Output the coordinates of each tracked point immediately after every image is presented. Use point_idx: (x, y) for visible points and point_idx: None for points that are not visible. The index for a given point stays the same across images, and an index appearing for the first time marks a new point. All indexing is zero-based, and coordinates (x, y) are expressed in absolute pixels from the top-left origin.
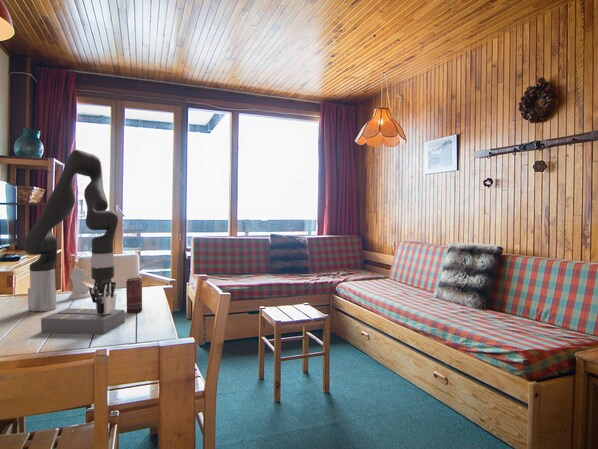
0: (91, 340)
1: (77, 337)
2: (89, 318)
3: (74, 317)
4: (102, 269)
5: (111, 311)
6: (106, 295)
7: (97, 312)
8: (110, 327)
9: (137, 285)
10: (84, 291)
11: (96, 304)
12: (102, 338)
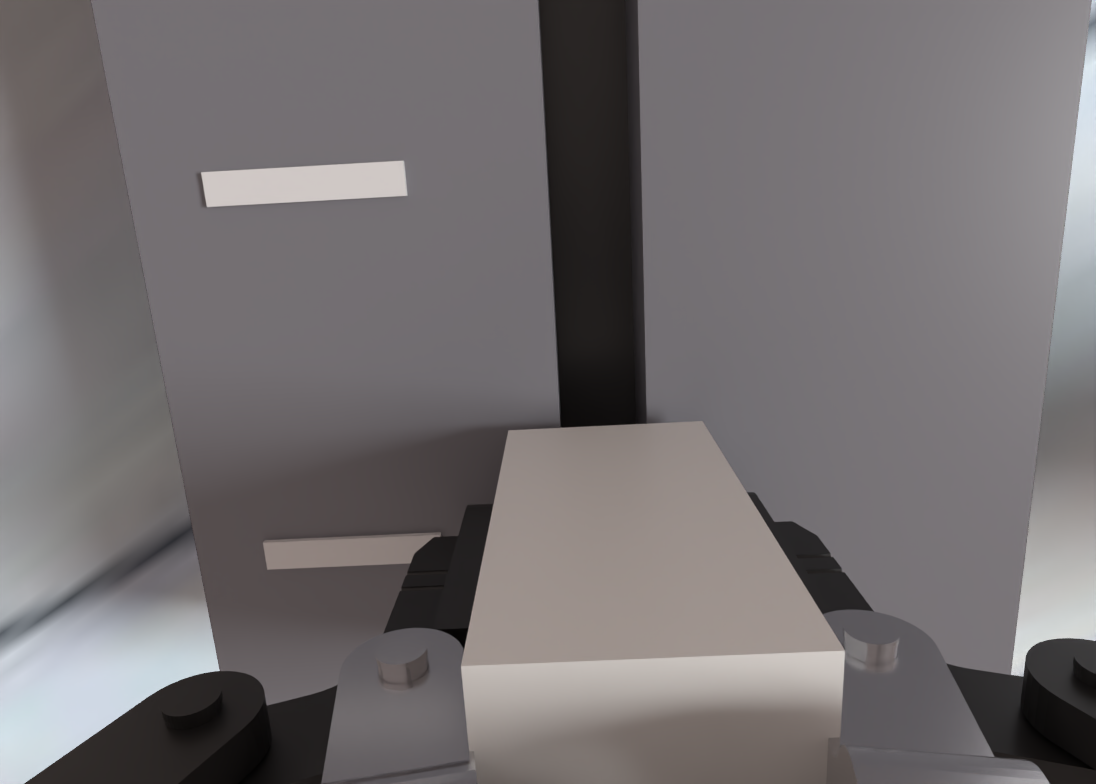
0: (59, 600)
1: (103, 338)
2: (261, 438)
3: (249, 32)
4: None
5: (853, 554)
6: (1060, 741)
7: (465, 510)
8: None
9: None
10: None
11: (490, 548)
12: (166, 683)
